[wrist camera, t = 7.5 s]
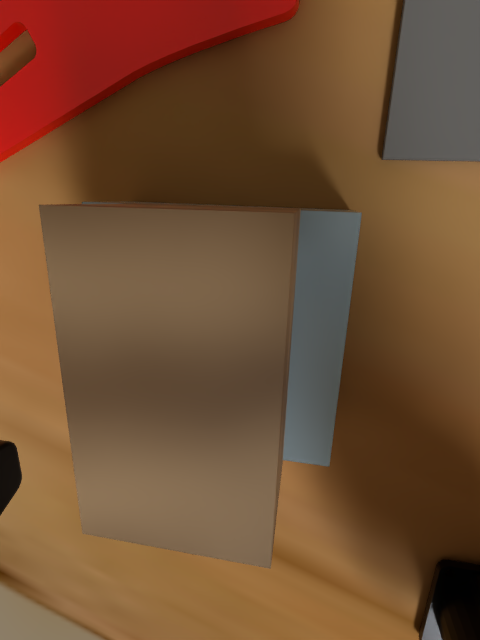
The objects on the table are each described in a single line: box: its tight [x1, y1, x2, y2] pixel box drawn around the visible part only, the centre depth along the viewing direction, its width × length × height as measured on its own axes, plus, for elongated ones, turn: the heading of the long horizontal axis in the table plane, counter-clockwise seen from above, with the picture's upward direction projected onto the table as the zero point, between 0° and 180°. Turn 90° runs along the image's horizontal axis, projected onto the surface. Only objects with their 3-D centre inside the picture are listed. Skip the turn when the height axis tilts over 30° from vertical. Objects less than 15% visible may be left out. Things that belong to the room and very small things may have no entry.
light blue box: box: [82, 202, 362, 467], centre depth 17 cm, size 10×10×4 cm
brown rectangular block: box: [39, 203, 301, 569], centre depth 12 cm, size 10×6×5 cm, turn 179°
